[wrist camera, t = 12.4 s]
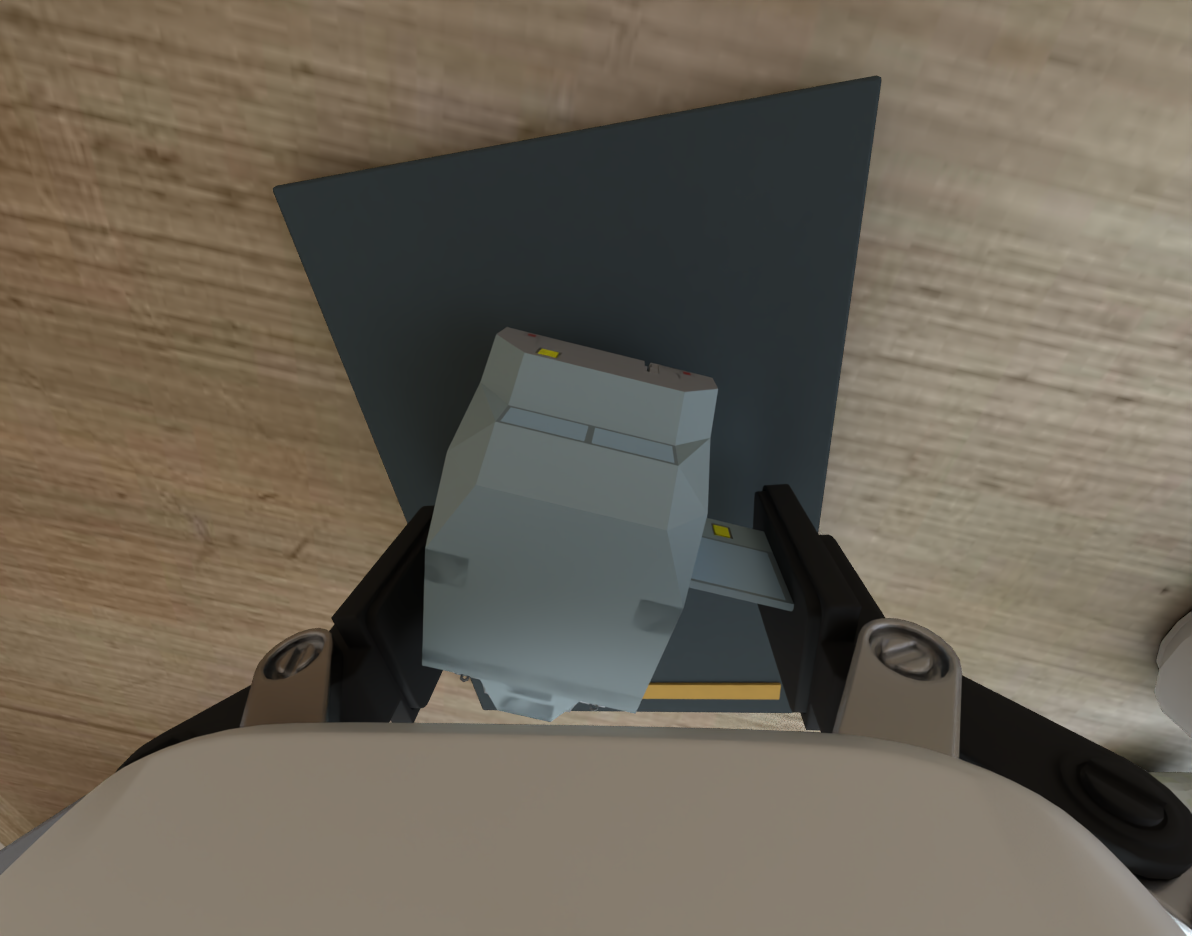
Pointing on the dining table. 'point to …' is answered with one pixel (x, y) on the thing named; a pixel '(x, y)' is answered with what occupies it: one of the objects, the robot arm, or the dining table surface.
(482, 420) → the toy car
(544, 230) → the mat
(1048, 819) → the robot arm
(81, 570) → the dining table surface
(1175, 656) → the can
